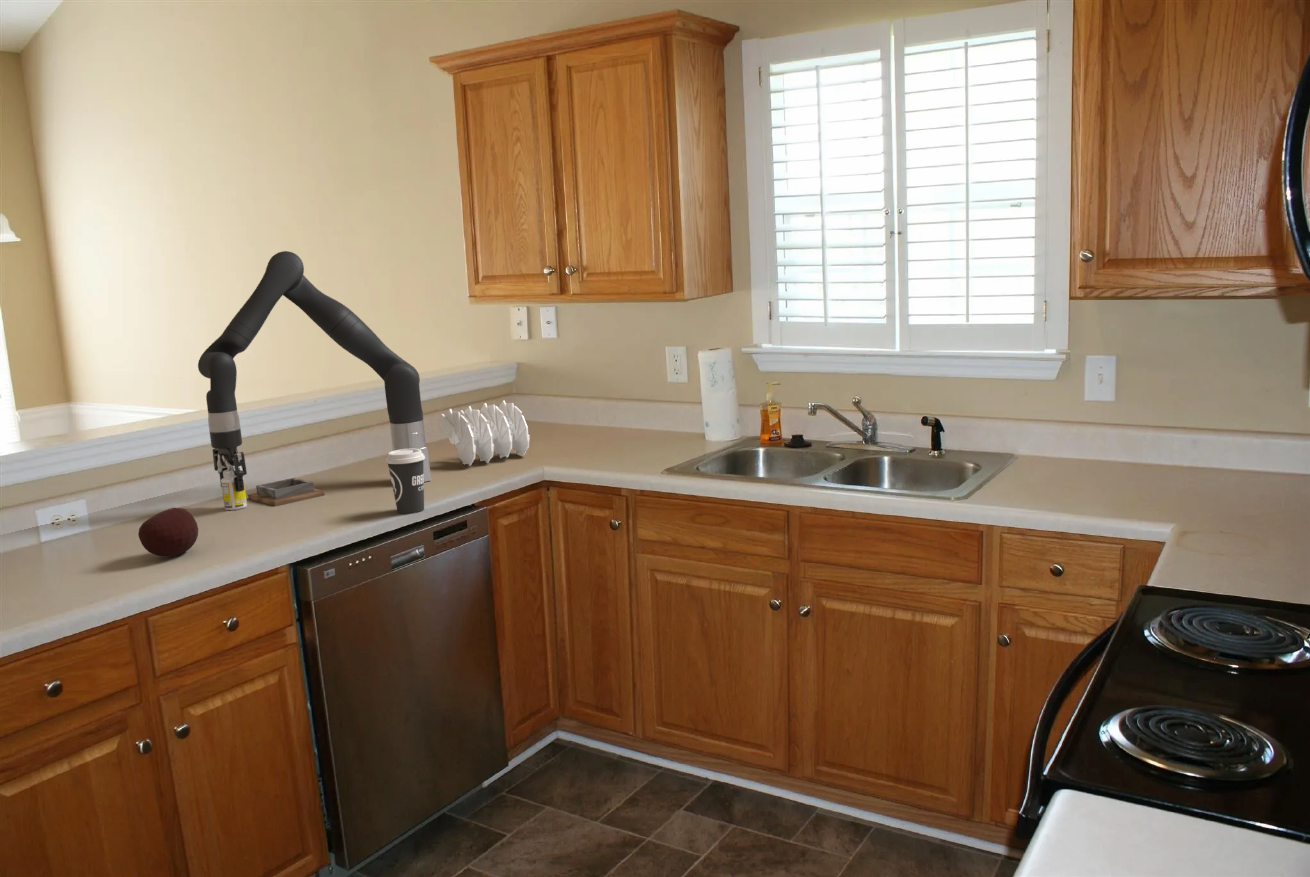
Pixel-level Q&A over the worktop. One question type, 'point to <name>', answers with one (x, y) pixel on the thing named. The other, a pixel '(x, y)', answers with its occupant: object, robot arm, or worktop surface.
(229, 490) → the supplement bottle
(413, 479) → the coffee cup
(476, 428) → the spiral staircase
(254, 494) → the holder
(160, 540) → the potato
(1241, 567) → the worktop surface
